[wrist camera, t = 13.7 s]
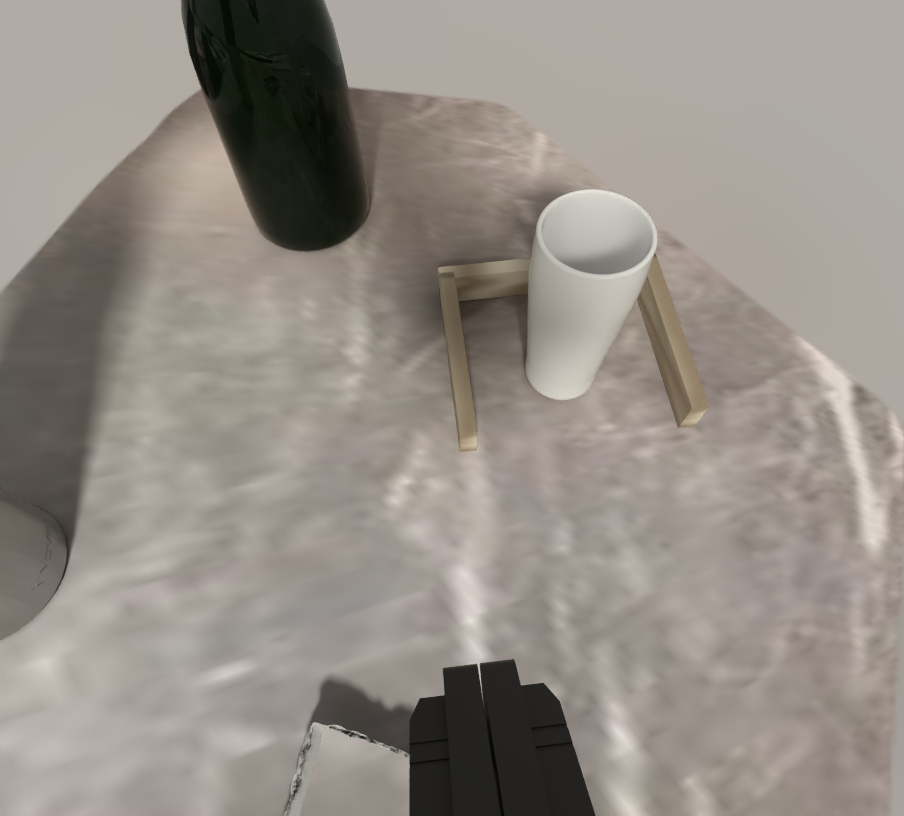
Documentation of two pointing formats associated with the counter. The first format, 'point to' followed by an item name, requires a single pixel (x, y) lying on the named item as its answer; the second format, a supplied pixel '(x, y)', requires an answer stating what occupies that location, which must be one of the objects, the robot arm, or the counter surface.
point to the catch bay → (514, 281)
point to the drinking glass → (583, 286)
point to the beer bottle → (282, 115)
